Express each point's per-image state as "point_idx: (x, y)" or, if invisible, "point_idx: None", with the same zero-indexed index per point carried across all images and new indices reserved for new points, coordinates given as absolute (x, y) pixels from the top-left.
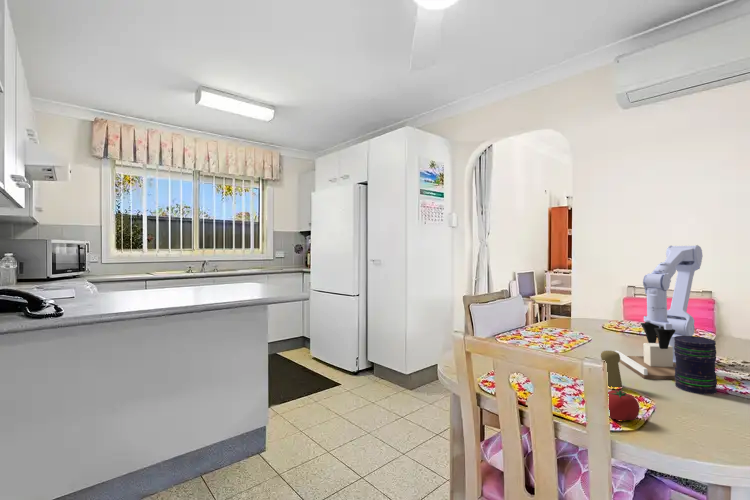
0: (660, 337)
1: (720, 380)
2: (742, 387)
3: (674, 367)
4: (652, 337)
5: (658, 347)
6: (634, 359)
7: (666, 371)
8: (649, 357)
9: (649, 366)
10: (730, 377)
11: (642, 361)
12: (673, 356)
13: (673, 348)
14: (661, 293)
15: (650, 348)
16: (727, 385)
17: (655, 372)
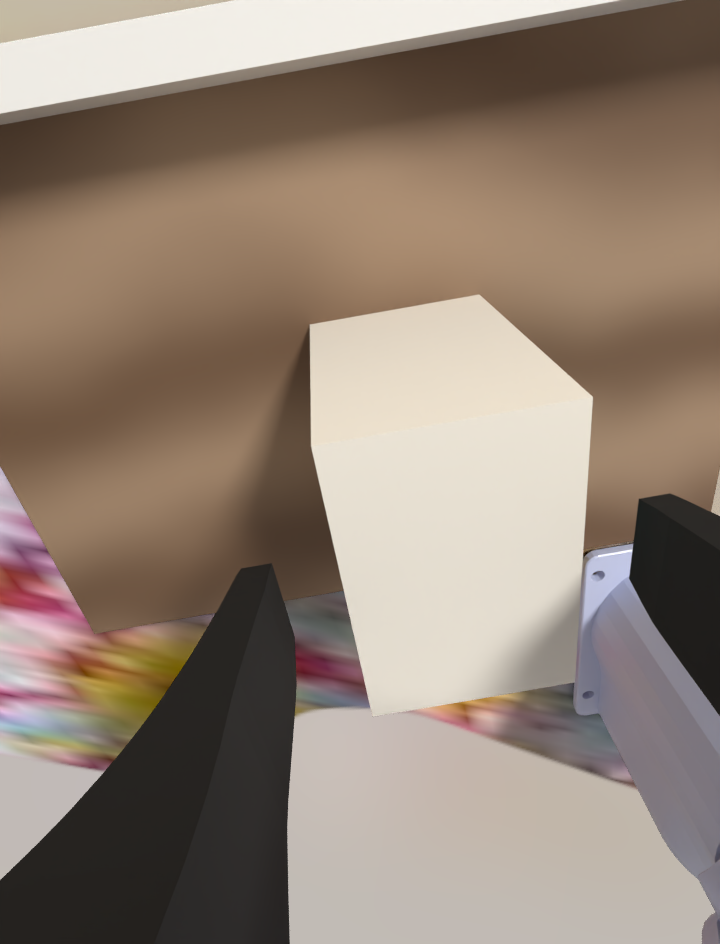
0: (111, 772)
1: None
2: (65, 762)
3: (331, 536)
4: (701, 621)
5: (336, 556)
6: (600, 205)
7: (143, 432)
8: (334, 356)
9: (296, 308)
10: None
11: (513, 287)
12: (638, 613)
13: (683, 681)
14: None
15: (312, 431)
16: (66, 714)
17: (36, 304)
